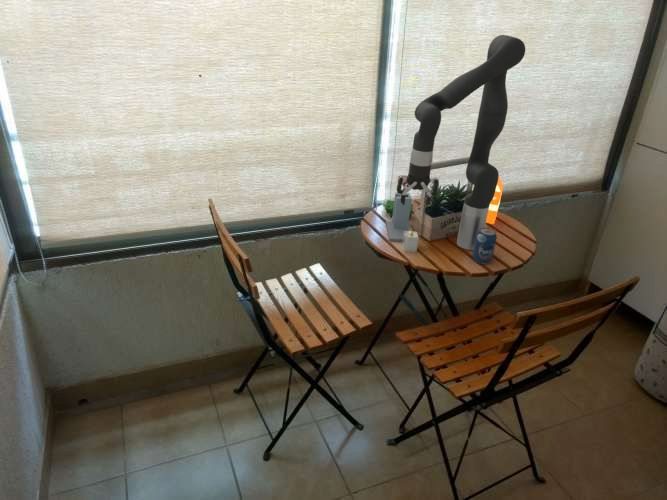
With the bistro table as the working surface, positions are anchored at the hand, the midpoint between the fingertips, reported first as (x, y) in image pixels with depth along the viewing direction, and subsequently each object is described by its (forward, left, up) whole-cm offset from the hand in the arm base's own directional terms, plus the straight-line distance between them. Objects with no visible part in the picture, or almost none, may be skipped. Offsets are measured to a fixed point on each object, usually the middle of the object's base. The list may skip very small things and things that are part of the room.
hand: (414, 204), depth 184 cm
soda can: (-26, +7, -18) cm, 32 cm away
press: (+2, -13, -18) cm, 22 cm away
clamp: (+1, -29, -18) cm, 34 cm away
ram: (+2, -18, -10) cm, 21 cm away
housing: (0, 0, -18) cm, 18 cm away
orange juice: (-38, -31, -18) cm, 52 cm away
